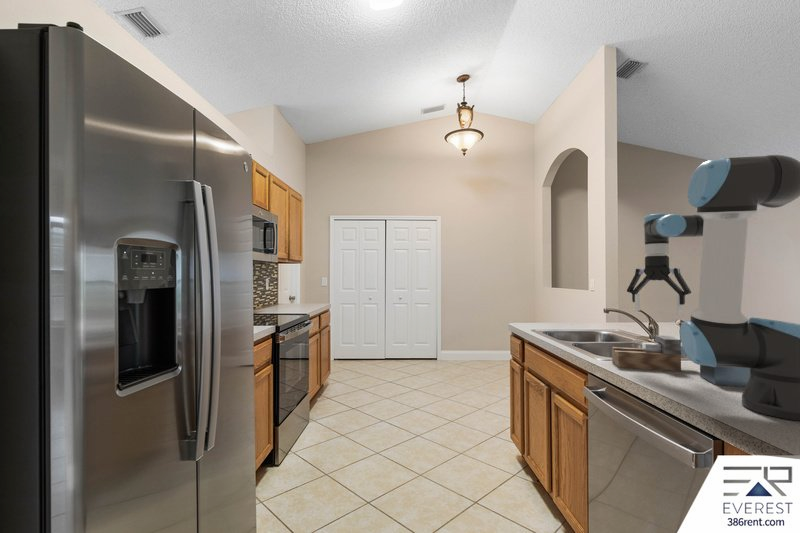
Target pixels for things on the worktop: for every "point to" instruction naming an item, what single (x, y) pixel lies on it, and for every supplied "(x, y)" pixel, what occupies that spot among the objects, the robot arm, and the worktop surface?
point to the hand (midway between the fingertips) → (657, 312)
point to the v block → (725, 375)
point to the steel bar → (657, 348)
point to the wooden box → (650, 356)
